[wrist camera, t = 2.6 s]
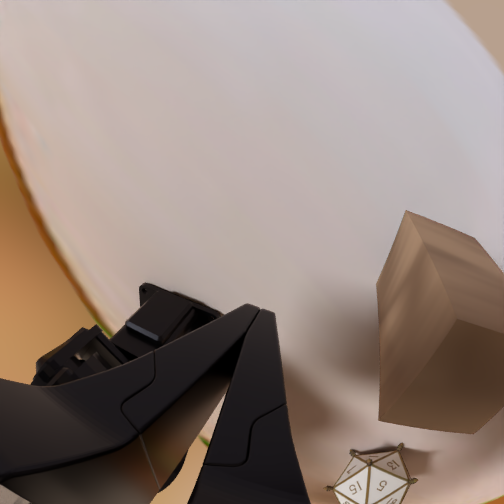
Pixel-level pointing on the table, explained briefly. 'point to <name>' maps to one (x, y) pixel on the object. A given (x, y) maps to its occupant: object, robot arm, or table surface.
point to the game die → (373, 479)
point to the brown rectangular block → (440, 330)
